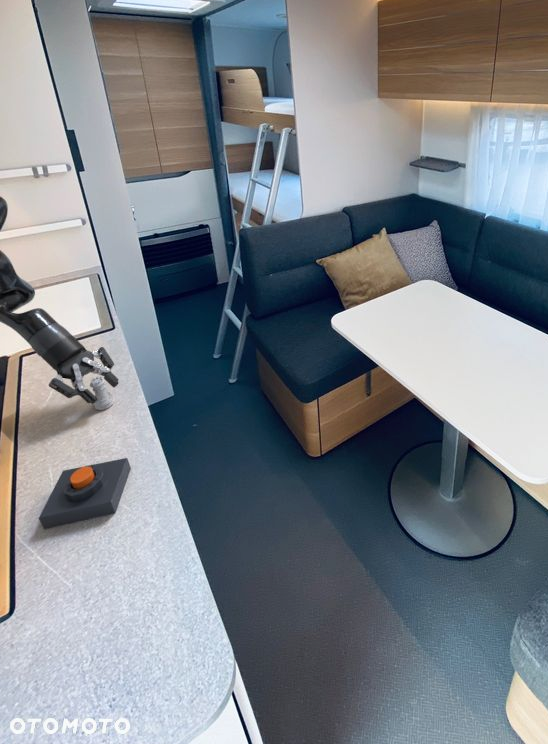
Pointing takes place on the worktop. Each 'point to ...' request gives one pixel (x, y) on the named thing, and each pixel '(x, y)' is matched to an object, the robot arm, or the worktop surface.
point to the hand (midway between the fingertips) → (106, 393)
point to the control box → (86, 495)
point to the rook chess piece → (101, 394)
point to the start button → (82, 477)
